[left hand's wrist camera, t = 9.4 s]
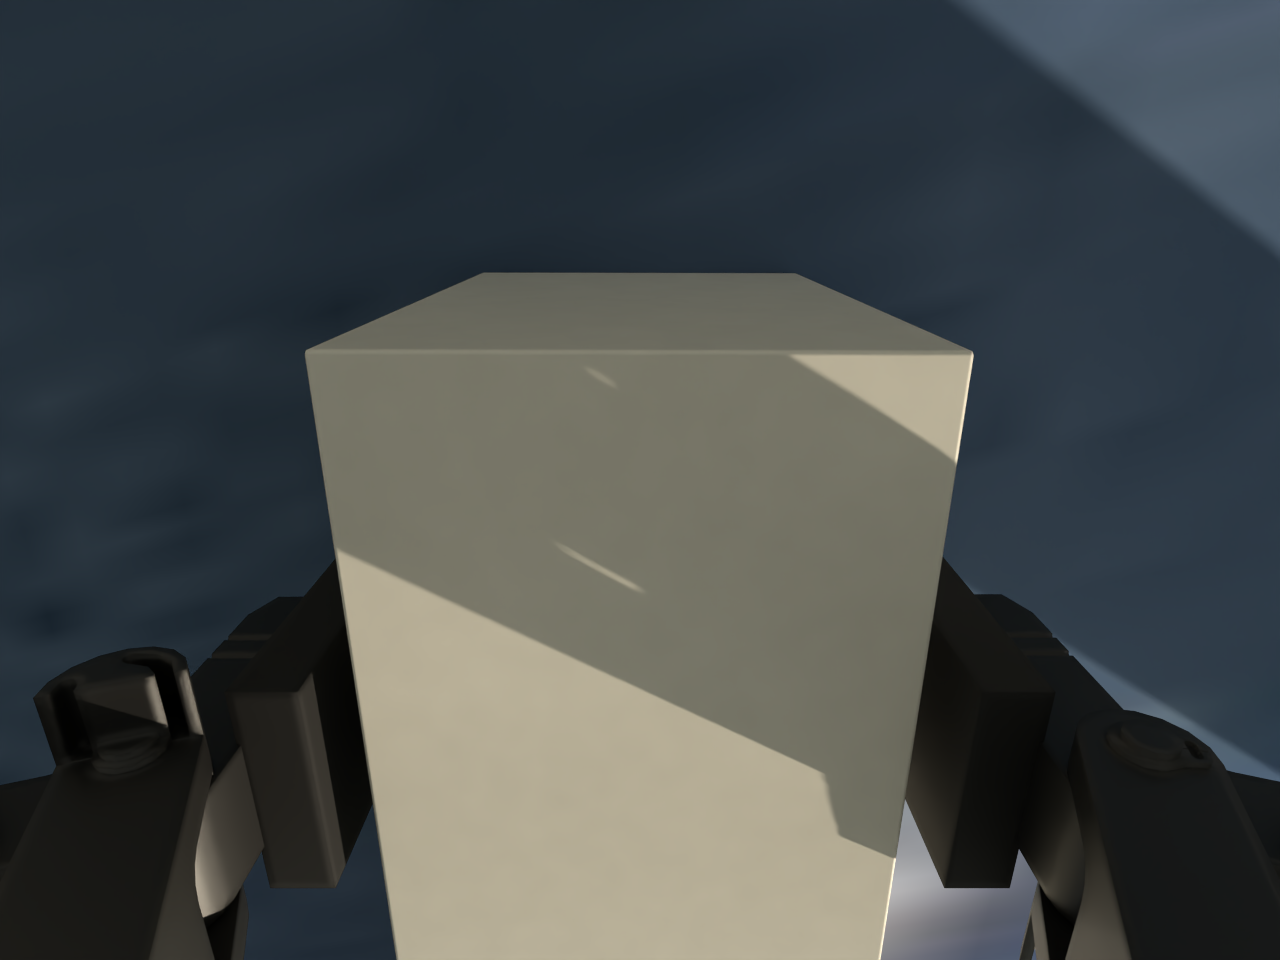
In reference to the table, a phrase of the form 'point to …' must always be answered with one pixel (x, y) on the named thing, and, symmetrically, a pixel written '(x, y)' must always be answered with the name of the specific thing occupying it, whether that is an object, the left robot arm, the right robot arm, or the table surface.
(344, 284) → the table surface
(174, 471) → the table surface
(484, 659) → the beam
